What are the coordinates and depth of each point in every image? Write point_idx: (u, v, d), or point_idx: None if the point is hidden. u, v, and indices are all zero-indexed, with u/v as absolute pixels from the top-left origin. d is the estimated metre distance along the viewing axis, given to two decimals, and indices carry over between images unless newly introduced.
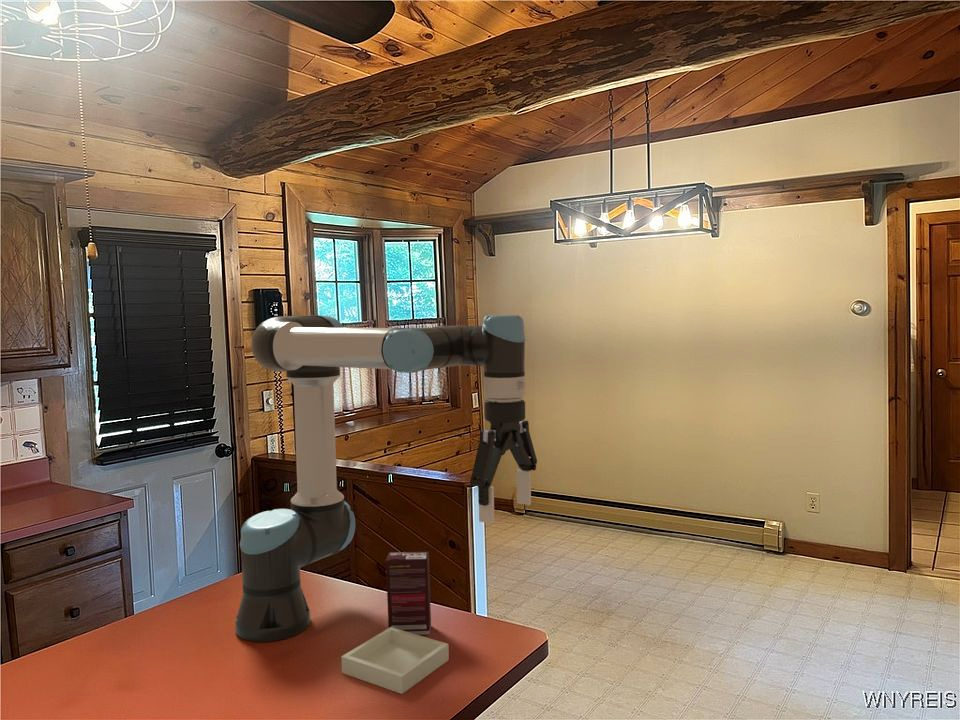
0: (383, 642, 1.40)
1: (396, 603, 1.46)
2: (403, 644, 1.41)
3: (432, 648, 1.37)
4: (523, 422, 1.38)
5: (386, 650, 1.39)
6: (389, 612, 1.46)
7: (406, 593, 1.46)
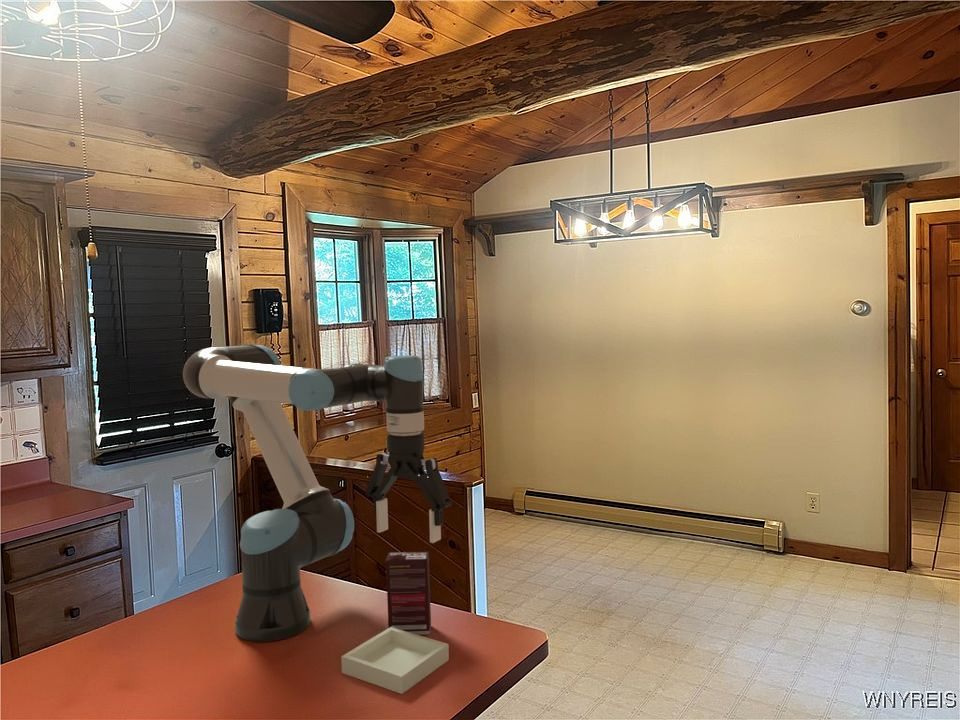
0: (383, 642, 1.40)
1: (396, 603, 1.46)
2: (403, 644, 1.41)
3: (432, 648, 1.37)
4: None
5: (386, 650, 1.39)
6: (389, 612, 1.46)
7: (406, 593, 1.46)
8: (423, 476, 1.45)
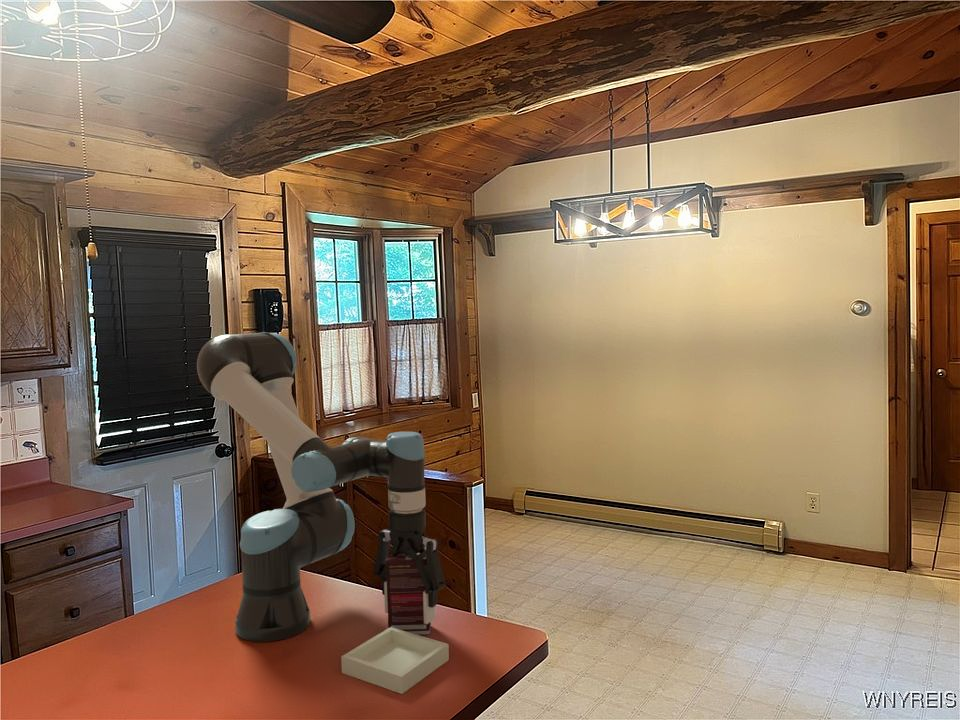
0: (383, 642, 1.40)
1: (396, 603, 1.46)
2: (403, 644, 1.41)
3: (432, 648, 1.37)
4: None
5: (386, 650, 1.39)
6: (389, 612, 1.46)
7: (406, 593, 1.46)
8: (423, 555, 1.46)
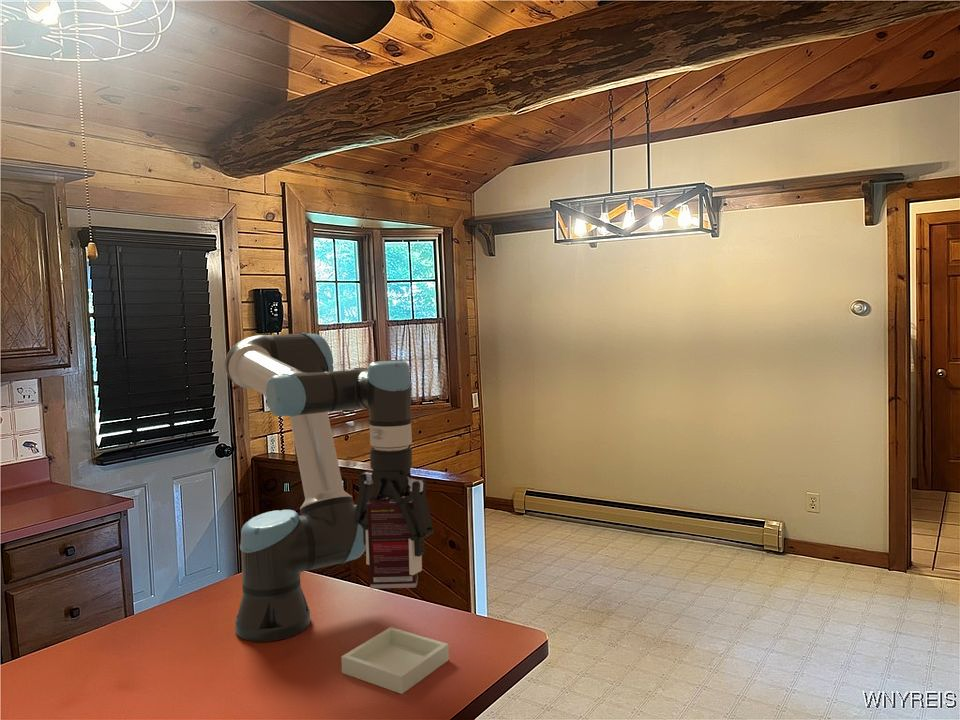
0: (383, 642, 1.40)
1: (379, 552, 1.30)
2: (403, 644, 1.41)
3: (432, 648, 1.37)
4: None
5: (386, 650, 1.39)
6: (371, 562, 1.30)
7: (389, 541, 1.30)
8: (408, 498, 1.30)
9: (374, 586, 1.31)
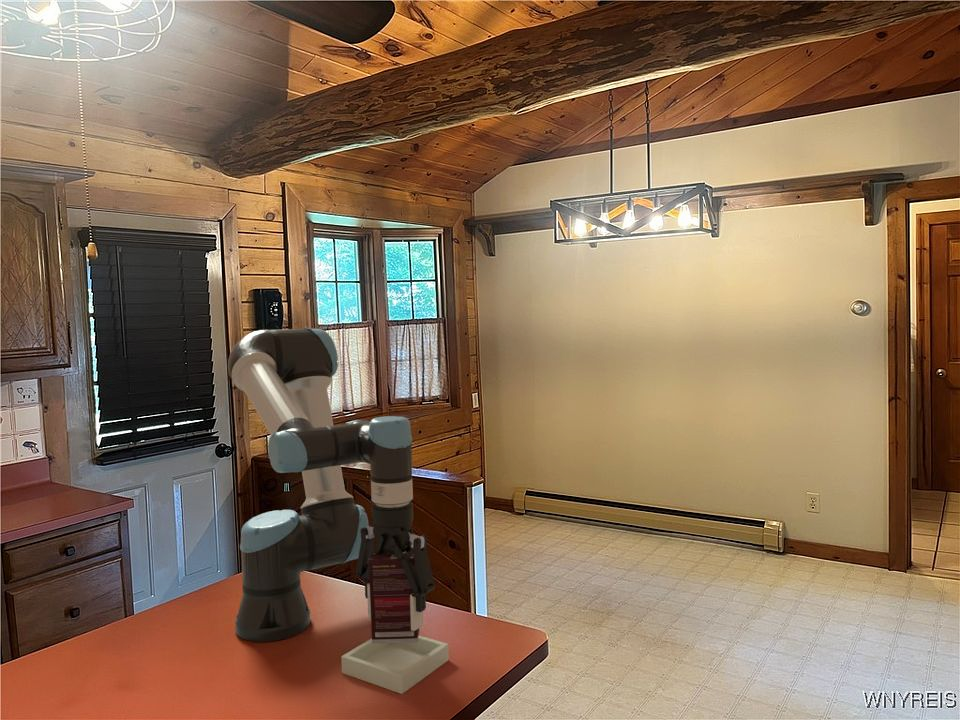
0: None
1: (380, 607, 1.31)
2: (403, 644, 1.41)
3: (432, 648, 1.37)
4: None
5: (386, 650, 1.39)
6: (372, 617, 1.31)
7: (391, 596, 1.31)
8: (410, 554, 1.31)
9: (376, 641, 1.31)
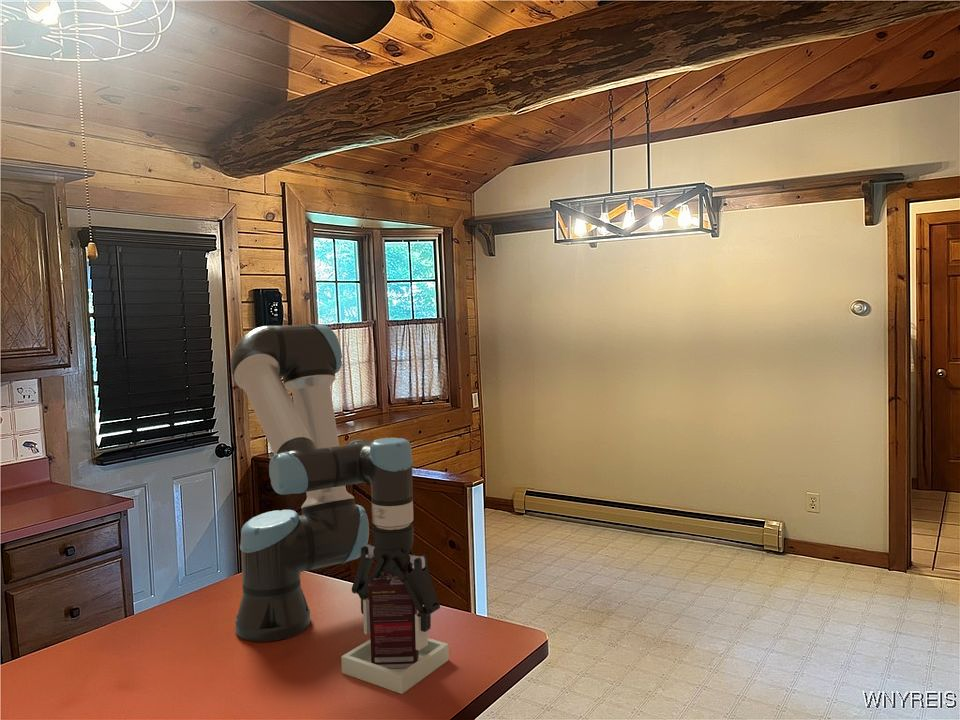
0: None
1: (380, 632, 1.31)
2: None
3: (432, 648, 1.37)
4: None
5: None
6: (372, 643, 1.32)
7: (390, 622, 1.31)
8: (411, 574, 1.31)
9: None
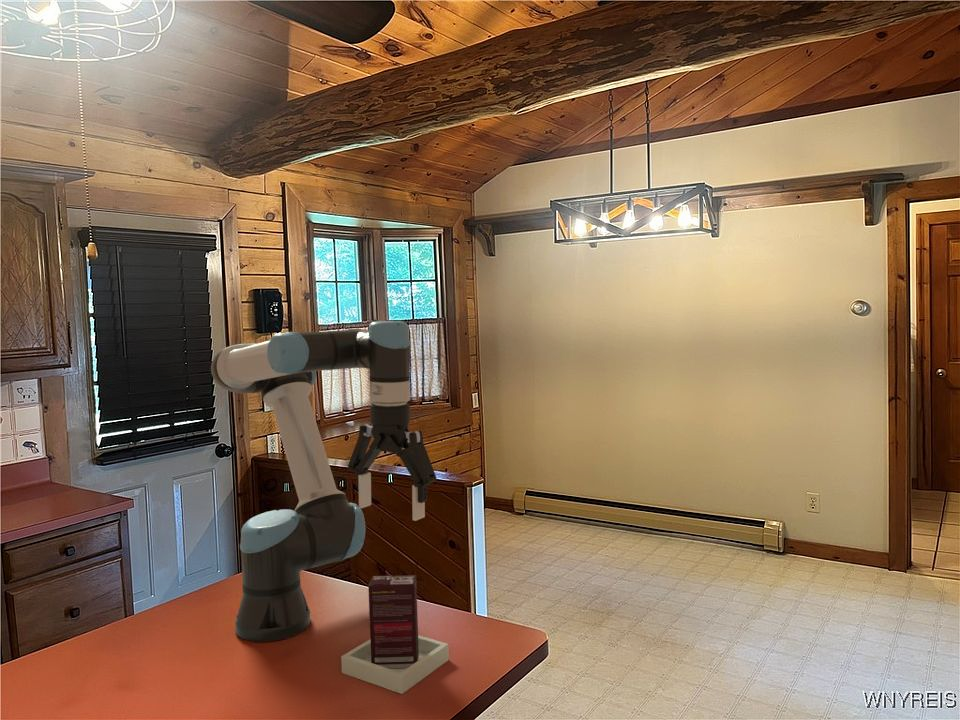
0: None
1: (380, 632, 1.31)
2: None
3: (432, 648, 1.37)
4: None
5: None
6: (372, 643, 1.32)
7: (390, 622, 1.31)
8: (408, 450, 1.36)
9: None
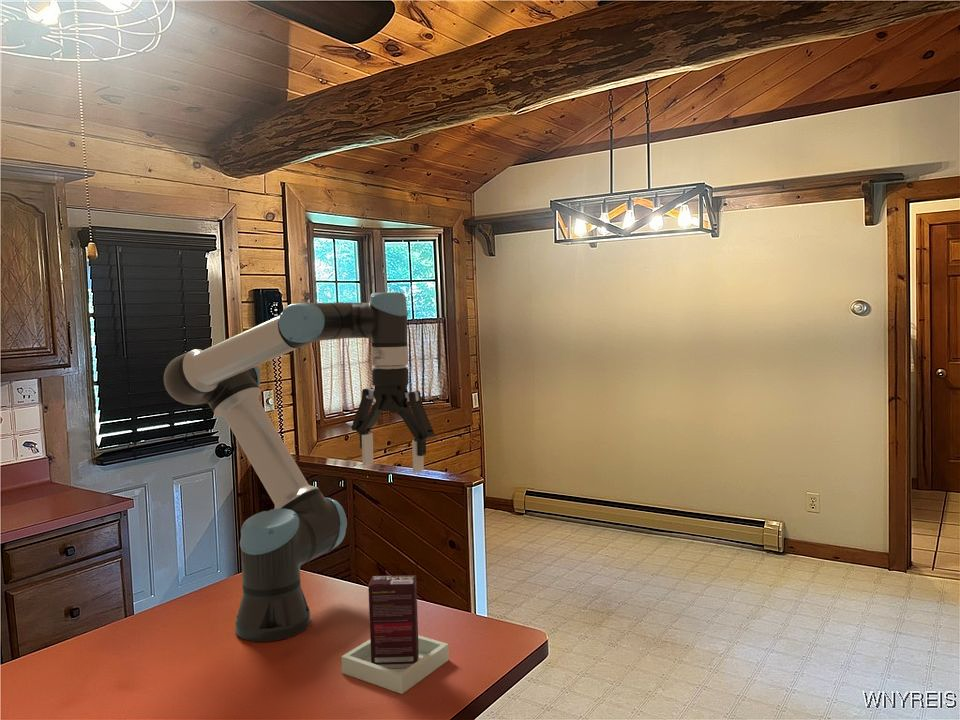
0: None
1: (380, 632, 1.31)
2: None
3: (432, 648, 1.37)
4: None
5: None
6: (372, 643, 1.32)
7: (390, 622, 1.31)
8: (407, 409, 1.49)
9: None
